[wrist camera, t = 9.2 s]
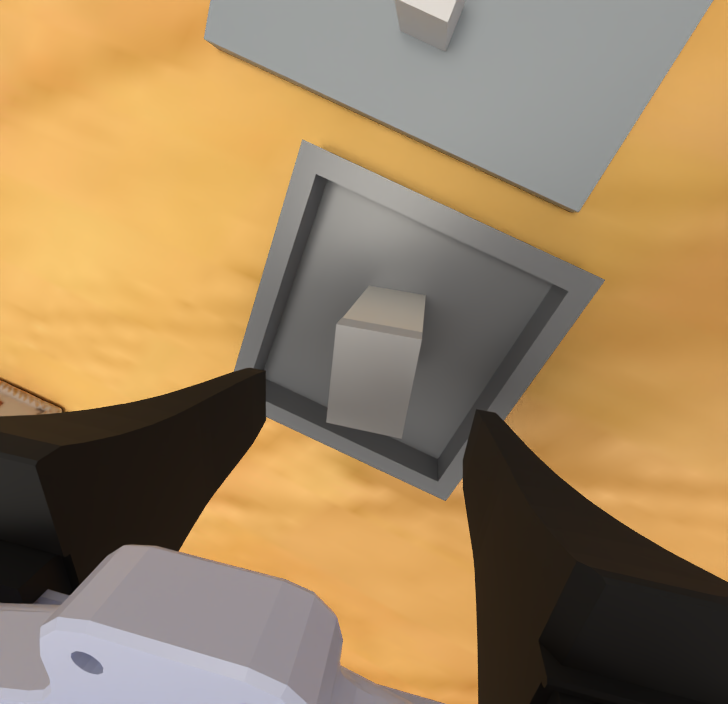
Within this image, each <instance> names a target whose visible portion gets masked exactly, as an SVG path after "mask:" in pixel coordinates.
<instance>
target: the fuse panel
mask: <svg viewBox="0 0 728 704" xmlns="http://www.w3.org/2000/svg"><path fill="white" fill-rule="evenodd" d="M712 1H713V0H211V1H210V7H209V12H208V18H207V24H206V30H205V36H204V39H205V40H206V41H208V42H209V43H210V44H212V45H213V46H214V47H216V48H217V49H220V50H222V51H224V52H226V53H228V54H230V55H233V56H235V57H237V58H239V59H241V60H243V61H246V62H248V63H250V64H252V65H254V66H256V67H258V68H261V69H263V70H265V71H267V72H269V73H271V74H274V75H276V76H278V77H280V78H282V79H284V80H287V81H289V82H291V83H293V84H295V85H297V86H300V87H302V88H304V89H306V90H308V91H310V92H312V93H315V94H317V95H319V96H321V97H323V98H325V99H328V100H330V101H332V102H334V103H336V104H338V105H341V106H343V107H345V108H347V109H349V110H351V111H353V112H356V113H358V114H360V115H362V116H364V117H366V118H369V119H371V120H373V121H375V122H377V123H379V124H382V125H384V126H386V127H388V128H390V129H392V130H395V131H397V132H399V133H401V134H403V135H405V136H407V137H410V138H412V139H414V140H416V141H418V142H420V143H423V144H425V145H427V146H429V147H431V148H433V149H436V150H438V151H440V152H442V153H444V154H446V155H448V156H451V157H453V158H455V159H457V160H459V161H461V162H464V163H466V164H468V165H470V166H472V167H474V168H477V169H479V170H481V171H483V172H485V173H487V174H490V175H492V176H494V177H496V178H498V179H500V180H502V181H505V182H507V183H509V184H511V185H513V186H515V187H518V188H520V189H522V190H524V191H526V192H528V193H531V194H533V195H535V196H537V197H539V198H541V199H543V200H546V201H548V202H550V203H552V204H554V205H556V206H559V207H561V208H563V209H565V210H567V211H569V212H579V211H580V209H581V208H582V206H583V204H584V203H585V201H586V200H587V198H588V197H589V195H590V193H591V192H592V190H593V189H594V187H595V186H596V184H597V182H598V181H599V179H600V178H601V176H602V175H603V173H604V171H605V170H606V168H607V167H608V165H609V164H610V162H611V160H612V159H613V157H614V156H615V154H616V153H617V151H618V149H619V148H620V146H621V145H622V143H623V142H624V140H625V138H626V137H627V135H628V134H629V132H630V131H631V129H632V127H633V126H634V124H635V123H636V121H637V120H638V118H639V116H640V115H641V113H642V112H643V110H644V109H645V107H646V105H647V104H648V102H649V101H650V99H651V97H652V96H653V94H654V93H655V91H656V90H657V88H658V86H659V85H660V83H661V82H662V80H663V79H664V77H665V75H666V74H667V72H668V71H669V69H670V68H671V66H672V64H673V63H674V61H675V60H676V58H677V57H678V55H679V53H680V52H681V50H682V49H683V47H684V46H685V44H686V42H687V41H688V39H689V38H690V36H691V35H692V33H693V31H694V30H695V28H696V27H697V25H698V24H699V22H700V20H701V19H702V17H703V16H704V14H705V13H706V11H707V9H708V8H709V6H710V5H711V3H712Z"/></svg>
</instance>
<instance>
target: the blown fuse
mask: <svg viewBox="0 0 728 704" xmlns="http://www.w3.org/2000/svg"><path fill="white" fill-rule="evenodd" d="M425 298H426V295H421V294H415V293H409V292H403V291H397V290H391V289H385V288H379V287H373V286H368V288H367V289H366V290H365V291H364V292H363V294H362V295H361V296H360V297H359V298H358V300H357V301H356V302H355V303H354V305H353V306H352V307H351V308H350V309H349V311H348V312H347V313H346V314H345V315H344V317H343V318H341V319H340V320H339V321H338V323H337V324H336V332H335V342H334V351H333V361H332V371H331V380H330V390H329V399H328V409H327V419H326V423H331V424H336V425H340V426H345V427H350V428H354V429H359V430H364V431H368V432H373V433H377V434H382V435H387V436H391V437H396V438H401V439H402V434H403V429H404V424H405V420H406V415H407V410H408V405H409V400H410V395H411V390H412V386H413V381H414V376H415V371H416V366H417V361H418V356H419V352H420V347H421V342H422V333H423V320H424V309H425Z"/></svg>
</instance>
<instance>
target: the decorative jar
mask: <svg viewBox="0 0 728 704" xmlns="http://www.w3.org/2000/svg"><path fill="white" fill-rule="evenodd" d="M52 413H62V409H61V408H60V407H57V406H55V405H53V404H51V403H49V402H46V401H43V400H41V399H40V398H38V397H35V396H34V395H31V394H29V393H27V392H25V391H23V390H20V389H18V388H16V387H14V386H12V385H10V384H8V383H6V382H4V381H1V380H0V416H18V415H39V414H52Z"/></svg>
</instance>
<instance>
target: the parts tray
mask: <svg viewBox="0 0 728 704" xmlns="http://www.w3.org/2000/svg"><path fill="white" fill-rule="evenodd" d="M604 281H605V280H604V279H602V278H600V277H598V276H596V275H593V274H591V273H589V272H587V271H585V270H583V269H581V268H578V267H576V266H574V265H572V264H570V263H568V262H565V261H563V260H561V259H559V258H557V257H555V256H552V255H550V254H548V253H546V252H544V251H542V250H540V249H537V248H535V247H533V246H531V245H529V244H527V243H524V242H522V241H520V240H518V239H516V238H514V237H512V236H509V235H507V234H505V233H503V232H501V231H499V230H496V229H494V228H492V227H490V226H488V225H486V224H484V223H481V222H479V221H477V220H475V219H473V218H471V217H468V216H466V215H464V214H462V213H460V212H458V211H456V210H453V209H451V208H449V207H447V206H445V205H443V204H440V203H438V202H436V201H434V200H432V199H430V198H428V197H425V196H423V195H421V194H419V193H417V192H415V191H412V190H410V189H408V188H406V187H404V186H402V185H400V184H397V183H395V182H393V181H391V180H389V179H387V178H384V177H382V176H380V175H378V174H376V173H374V172H371V171H369V170H367V169H365V168H363V167H361V166H359V165H356V164H354V163H352V162H350V161H348V160H346V159H343V158H341V157H339V156H337V155H335V154H333V153H331V152H328V151H326V150H324V149H322V148H320V147H318V146H315V145H313V144H311V143H309V142H307V141H305V140H303V139H302V142H301V146H300V149H299V153H298V156H297V159H296V163H295V166H294V170H293V173H292V176H291V180H290V183H289V186H288V190H287V193H286V197H285V200H284V203H283V207H282V210H281V214H280V217H279V220H278V224H277V227H276V231H275V234H274V237H273V241H272V244H271V248H270V251H269V254H268V258H267V261H266V264H265V268H264V271H263V275H262V278H261V281H260V285H259V288H258V292H257V295H256V298H255V302H254V305H253V309H252V312H251V315H250V319H249V322H248V326H247V329H246V332H245V336H244V339H243V342H242V346H241V349H240V353H239V356H238V359H237V363H236V366H235V370H234V372H235V371H238V370H241V369H245V368H255V369H260V370H266V417H268V418H270V419H272V420H274V421H276V422H278V423H280V424H282V425H285V426H287V427H289V428H291V429H293V430H295V431H297V432H300V433H302V434H304V435H306V436H308V437H310V438H312V439H314V440H317V441H319V442H321V443H323V444H325V445H327V446H329V447H332V448H334V449H336V450H338V451H340V452H342V453H344V454H346V455H349V456H351V457H353V458H355V459H357V460H359V461H361V462H363V463H366V464H368V465H370V466H372V467H374V468H376V469H378V470H381V471H383V472H385V473H387V474H389V475H391V476H393V477H395V478H398V479H400V480H402V481H404V482H406V483H408V484H410V485H413V486H415V487H417V488H419V489H421V490H423V491H425V492H427V493H430V494H432V495H434V496H436V497H438V498H440V499H442V500H444V501H446V500H447V498H448V497H449V496H450V494H451V493H452V492H453V490H454V489H455V487H456V486H457V485H458V483H459V482H460V480H461V479H462V478H463V457H464V453H465V449H466V445H467V442H468V438H469V434H470V430H471V427H472V423H473V419H474V415H475V411H476V409H478V410H484V411H489V412H495V413H496V414H498V415H499V416H500V417H501V419H502V420H503V421H504V420H505V418H506V417H507V415H508V414H509V413H510V411H511V410H512V408H513V407H514V406H515V404H516V403H517V402H518V400H519V399H520V397H521V396H522V395H523V393H524V392H525V390H526V389H527V388H528V386H529V385H530V384H531V382H532V381H533V379H534V378H535V377H536V375H537V374H538V372H539V371H540V370H541V368H542V367H543V366H544V364H545V363H546V361H547V360H548V359H549V357H550V356H551V354H552V353H553V352H554V350H555V349H556V348H557V346H558V345H559V343H560V342H561V341H562V339H563V338H564V336H565V335H566V334H567V332H568V331H569V329H570V328H571V327H572V325H573V324H574V323H575V321H576V320H577V318H578V317H579V316H580V314H581V313H582V311H583V310H584V309H585V307H586V306H587V305H588V303H589V302H590V300H591V299H592V298H593V296H594V295H595V293H596V292H597V291H598V289H599V288H600V287H601V285H602V284H603V282H604ZM368 286H373V287H379V288H385V289H391V290H397V291H403V292H409V293H415V294H421V295H426V298H425V309H424V320H423V333H422V342H421V347H420V352H419V356H418V361H417V366H416V371H415V376H414V381H413V386H412V390H411V395H410V400H409V405H408V410H407V415H406V420H405V424H404V429H403V434H402V439H401V438H396V437H391V436H387V435H382V434H377V433H373V432H368V431H364V430H359V429H354V428H350V427H345V426H340V425H336V424H331V423H326V419H327V409H328V399H329V390H330V380H331V371H332V361H333V351H334V342H335V332H336V324H337V323H338V321H339V320H340V319H341V318H343V317H344V315H345V314H346V313H347V312H348V311H349V309H350V308H351V307H352V306H353V305H354V303H355V302H356V301H357V300H358V298H359V297H360V296H361V295H362V294H363V292H364V291H365V290H366V289H367V288H368Z"/></svg>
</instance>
